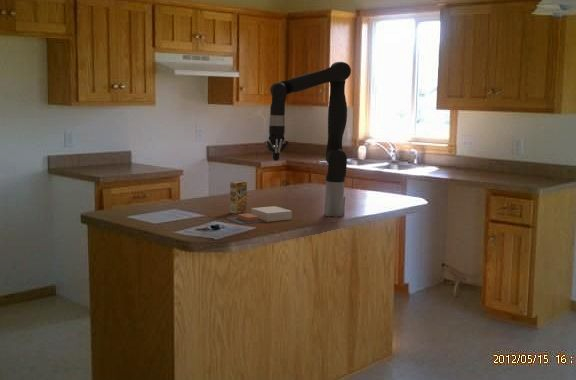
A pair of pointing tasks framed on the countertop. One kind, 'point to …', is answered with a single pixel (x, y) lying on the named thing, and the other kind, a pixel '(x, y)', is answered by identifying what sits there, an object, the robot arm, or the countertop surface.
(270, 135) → the robot arm
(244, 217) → the block
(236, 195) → the candy box
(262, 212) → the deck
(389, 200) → the countertop surface
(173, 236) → the countertop surface
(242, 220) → the mat
